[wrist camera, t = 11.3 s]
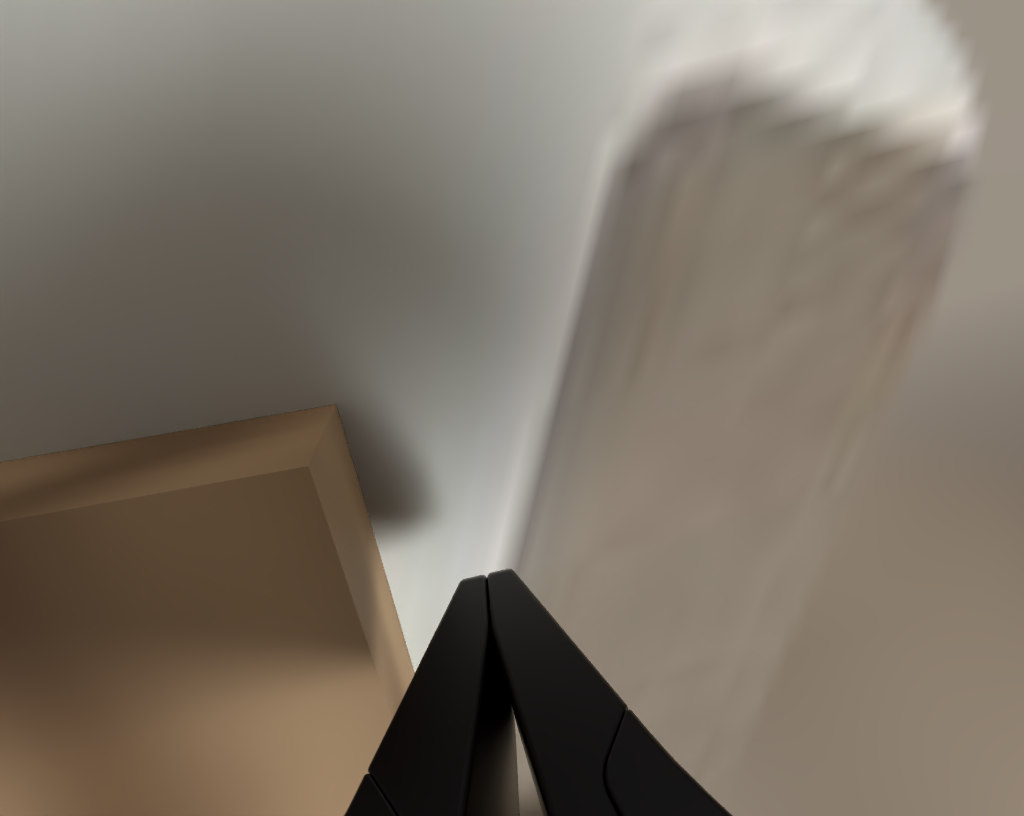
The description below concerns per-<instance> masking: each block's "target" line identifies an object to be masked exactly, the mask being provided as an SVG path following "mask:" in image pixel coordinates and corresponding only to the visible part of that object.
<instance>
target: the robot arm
mask: <svg viewBox="0 0 1024 816" xmlns="http://www.w3.org/2000/svg"><path fill="white" fill-rule="evenodd" d="M514 715H515V719H516V722H517V726H518V730H519V733H520V737H521V740H522V744H523V747H524V750H525V754H526V757H527V761H528V764H529V768H530V771H531V774H532V778H533V781H534V785H535V788H536V792H537V795H538V798H539V802H540V805H541V809H542V812H543V816H732V815H731V814H730V813H729V812H728V811H727V810H726V809H725V808H724V807H723V806H722V805H721V804H719V803H718V802H717V801H716V800H715V799H714V798H713V797H712V796H711V795H710V794H709V793H708V792H707V791H706V790H705V789H704V788H703V787H702V786H701V785H700V784H699V783H698V782H697V781H696V780H695V779H694V778H693V777H692V776H691V775H690V774H689V773H687V772H686V771H685V770H684V769H683V768H682V767H681V766H680V765H679V764H678V763H677V762H676V761H675V760H674V758H673V757H672V756H671V755H670V754H669V753H668V752H667V751H666V750H665V748H664V747H663V746H662V745H661V744H660V743H659V742H658V741H657V740H656V738H655V737H654V736H653V735H652V734H651V733H650V732H649V731H648V729H647V728H646V727H645V726H644V725H643V724H642V722H641V721H640V720H639V719H638V718H637V716H636V715H635V714H634V713H633V712H632V711H631V710H628V707H627V705H626V704H625V703H624V701H623V700H622V699H621V698H620V697H619V695H618V694H617V693H616V692H615V691H614V689H613V688H612V687H611V686H610V685H609V684H608V682H607V681H606V680H605V679H604V678H603V676H602V675H601V674H600V673H599V672H598V670H597V669H596V668H595V667H594V666H593V664H592V663H591V662H590V661H589V660H588V659H587V657H586V656H585V655H584V654H583V653H582V651H581V650H580V649H579V648H578V647H577V645H576V644H575V643H574V642H573V641H572V640H571V638H570V637H569V636H568V635H567V634H566V632H565V631H564V630H563V629H562V628H561V626H560V625H559V624H558V623H557V622H556V620H555V619H554V618H553V617H552V616H551V615H550V613H549V612H548V611H547V610H546V609H545V607H544V606H543V605H542V604H541V603H540V601H539V600H538V599H537V598H536V597H535V596H534V594H533V593H532V592H531V591H530V590H529V588H528V587H527V586H526V585H525V584H524V582H523V581H522V580H521V579H520V578H519V576H518V575H517V574H516V573H515V572H514V571H513V570H512V569H505V570H501V571H496V572H492V573H490V574H489V575H488V577H486V576H485V575H479V576H475V577H471V578H467V579H463V580H462V581H461V582H460V583H459V585H458V587H457V589H456V591H455V593H454V595H453V597H452V599H451V601H450V603H449V605H448V607H447V609H446V611H445V613H444V615H443V617H442V619H441V622H440V624H439V626H438V628H437V630H436V632H435V634H434V636H433V638H432V640H431V642H430V644H429V646H428V648H427V650H426V652H425V654H424V656H423V658H422V660H421V662H420V664H419V666H418V668H417V670H416V672H415V674H414V676H413V678H412V680H411V682H410V684H409V686H408V688H407V690H406V692H405V695H404V697H403V699H402V701H401V703H400V705H399V707H398V709H397V711H396V713H395V715H394V717H393V719H392V721H391V723H390V725H389V727H388V729H387V731H386V733H385V735H384V737H383V739H382V741H381V743H380V745H379V747H378V749H377V751H376V753H375V755H374V757H373V759H372V761H371V763H370V765H369V768H368V773H369V774H365V775H364V777H363V779H362V781H361V783H360V785H359V787H358V789H357V791H356V793H355V795H354V797H353V799H352V801H351V803H350V805H349V807H348V809H347V811H346V813H345V815H344V816H520V815H519V794H518V774H517V753H516V734H515V721H514Z"/></svg>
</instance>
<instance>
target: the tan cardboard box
mask: <svg viewBox="0 0 1024 816" xmlns="http://www.w3.org/2000/svg"><path fill="white" fill-rule="evenodd" d="M414 674H415V673H414V669H413V666H412V662H411V659H410V656H409V652H408V649H407V645H406V642H405V639H404V635H403V632H402V628H401V625H400V621H399V618H398V615H397V611H396V608H395V604H394V601H393V598H392V594H391V591H390V587H389V584H388V581H387V577H386V574H385V570H384V567H383V563H382V560H381V557H380V553H379V550H378V546H377V543H376V540H375V536H374V533H373V529H372V526H371V522H370V519H369V516H368V512H367V509H366V505H365V502H364V499H363V495H362V492H361V488H360V485H359V482H358V478H357V475H356V471H355V468H354V464H353V461H352V458H351V454H350V451H349V447H348V444H347V441H346V437H345V434H344V430H343V427H342V423H341V420H340V417H339V413H338V410H337V406H336V404H335V405H329V406H323V407H317V408H311V409H306V410H300V411H294V412H288V413H283V414H277V415H271V416H265V417H259V418H254V419H248V420H242V421H236V422H230V423H225V424H219V425H213V426H207V427H202V428H196V429H190V430H184V431H178V432H173V433H167V434H161V435H155V436H149V437H144V438H138V439H132V440H126V441H121V442H115V443H109V444H103V445H97V446H92V447H86V448H80V449H74V450H68V451H63V452H57V453H51V454H45V455H39V456H34V457H28V458H22V459H16V460H11V461H5V462H0V816H344V815H345V813H346V811H347V809H348V807H349V805H350V803H351V801H352V799H353V797H354V795H355V793H356V791H357V789H358V787H359V785H360V783H361V781H362V779H363V777H364V775H365V774H369V773H368V768H369V765H370V763H371V761H372V759H373V757H374V755H375V753H376V751H377V749H378V747H379V745H380V743H381V741H382V739H383V737H384V735H385V733H386V731H387V729H388V727H389V725H390V723H391V721H392V719H393V717H394V715H395V713H396V711H397V709H398V707H399V705H400V703H401V701H402V699H403V697H404V695H405V692H406V690H407V688H408V686H409V684H410V682H411V680H412V678H413V676H414Z"/></svg>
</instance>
